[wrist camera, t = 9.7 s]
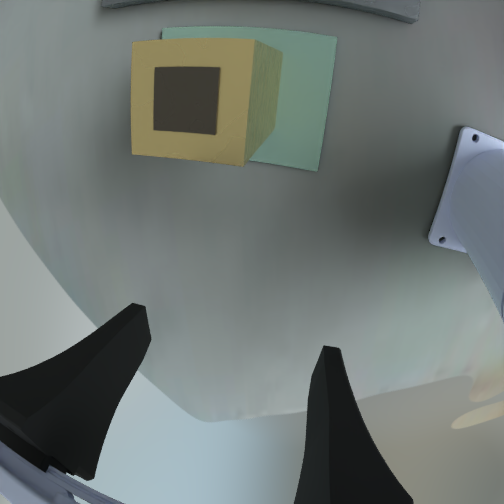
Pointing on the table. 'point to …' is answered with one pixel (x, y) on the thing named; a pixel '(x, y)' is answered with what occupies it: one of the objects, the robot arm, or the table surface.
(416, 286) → the table surface
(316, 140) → the mat
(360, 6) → the grey slotted base board
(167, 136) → the tan box
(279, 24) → the table surface
